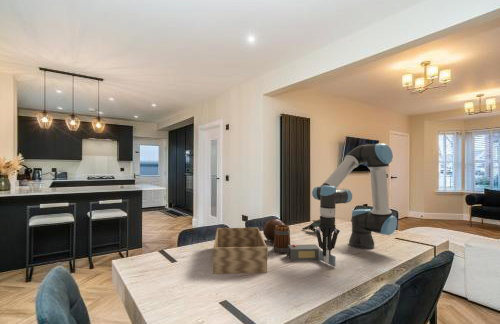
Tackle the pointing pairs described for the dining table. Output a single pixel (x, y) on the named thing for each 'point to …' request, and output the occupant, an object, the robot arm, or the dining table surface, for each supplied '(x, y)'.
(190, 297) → the dining table surface
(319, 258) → the side door
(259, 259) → the box
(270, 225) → the coconut
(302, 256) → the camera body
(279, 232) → the mug
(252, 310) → the dining table surface
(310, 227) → the bird figurine
